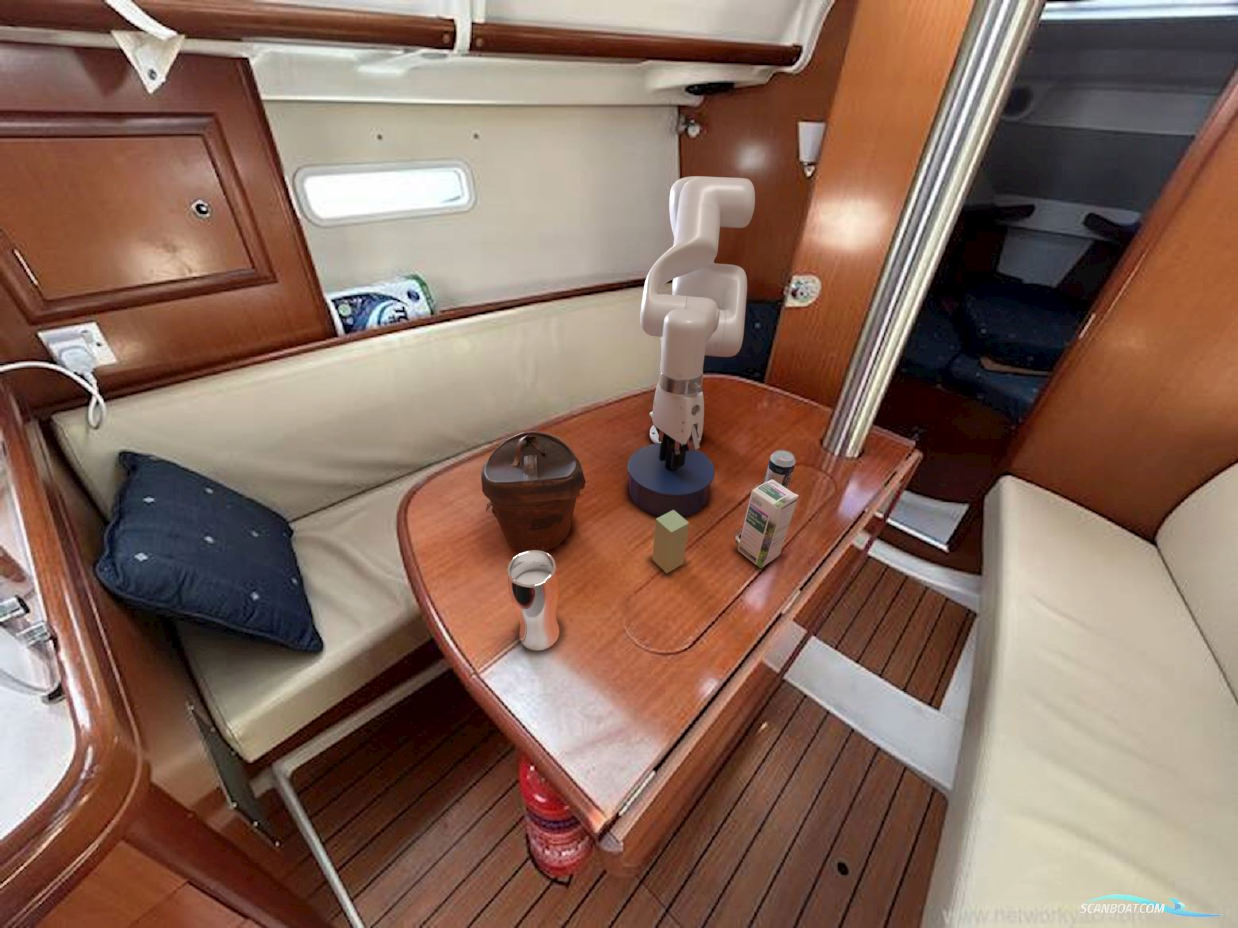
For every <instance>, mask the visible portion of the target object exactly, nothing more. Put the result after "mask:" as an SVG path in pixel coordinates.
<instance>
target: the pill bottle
mask: <svg viewBox="0 0 1238 928" xmlns="http://www.w3.org/2000/svg"><path fill="white" fill-rule="evenodd" d="M796 462H797V460H796V458H795V455H794V453H792V452H791V451H788V450H786V449H776V450H775V451H773V453H771V455H770V457H769V459H768V465H767V470H766V473H765V476H764V481H763V483H765V482H767V481H770V480H772V479H773V480H775V481H776V482H778V483H779V484H781V485H782V486H784V487H786V488H787V489H788V490H789V487H790V483H791V481H792V476H793V473H794V470H795V466H796Z"/></svg>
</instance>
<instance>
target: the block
mask: <svg viewBox="0 0 1238 928" xmlns="http://www.w3.org/2000/svg"><path fill="white" fill-rule="evenodd" d="M689 527H690V522H689V521H688V520H687V519H685V517H682V516H681V515H679V514H678V513H677V512H676V511H675V510H672V511H670V512H668V513H666V514H664V515H662V516H657V518H655V525H654V535H653V547H652V561H653V562H654V563H655V564H656V565H657V566H658V567H659V568H660V569H661V570H662V571H663V572H664V573H665V574H668V573H671V572H672V571H673V570H675V569H677V568H679V567H680V566H682V565H684V562H685V555H686V550H687V549H686V548H687V543H688V542H687V541H688V534H689V530H690V529H689Z"/></svg>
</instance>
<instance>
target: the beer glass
mask: <svg viewBox="0 0 1238 928" xmlns="http://www.w3.org/2000/svg"><path fill="white" fill-rule="evenodd" d="M506 572H507V584H508V595H509V598H510V602H511V605H512V608H513V609H514V612H515V614H516V616H517V618H518V620H519V625H520V626H519V632H518V633H519V635H518V636H519V641H520V642H521V644H522V645H523V646H524V647H525V648H527V649H528V650H531V651H537V652H539V651H540V652H541V651H545V650H546V649H550V648H551V647H552V646H554V644H555V643H556V642H557V641H558V640H559V637H560V626H559V623H558V621H557V617H556V615H557V609H558V603H559V596H560V582H559V575H558V570H557V563H556V561H555V559H554V557H553V555H551V554H550V553H548V552H546V551H540V550H529V551H522V552H520V553H518V554H516V555H515V556H514V557H513V558H512V559H511V560H510V561H509V562H508V566H507V571H506Z"/></svg>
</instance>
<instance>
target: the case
mask: <svg viewBox="0 0 1238 928" xmlns="http://www.w3.org/2000/svg"><path fill="white" fill-rule="evenodd" d="M480 480H481V481H480V483H481V492H482V493H483V495H484V496H485V497H486V498H487V499H488V500H489V502H488V503H486V507H485V508H486V509H485V511H486V512H488V510H489V509H490V507H491V508H492V509H491V512H492V514H493V515H494V518H495V519H496V520H497V522H498V525H499V527H500V529H501V531H502V534H503V536H504V539H505V540H506V542H507V543H508V544H509V545H510V546H511V547H513V548H514V549H516V550H518V551H522V552H525V551H529V550H540V551H544V552H546V551H549V550H551V549H553V548H555V547H558V546H559V545H560V544H561V543H562V542H563V541H564V540H565V539H566V538H567V537H568V535H569V533H570V530H571V527H572V523H573V517H574V511H575V506H576V504H577V503H576V502H577V499H578V498H579V497H580V496H581V493H580V491H581V490H584V489H585V488H586V483H587V482H586V478H585V474H584V470H583V467H582V464H581V462H580V460H579V458H578V456H576V454H575V452H574V451H573V449H572V448H571V447H570V445H568V444H567V443H566V442H565V441H564V440H563V439H562V438H560V437H558V436H556V435H554V434H553V433H548V432H545V431H540V430H533V431H523V432H520V433H518V434H514V435H513V436H511V437H509V438H508V439H506V440H504V441H503V442H502V443H500V444H499V445H498V446H497V447H496V448H495V449H494V450H493V451H492V452H491V454H490V455H489V457H488V458H487V460H486V461H485V463H484V464H483V465H482V467H481V479H480Z"/></svg>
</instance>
